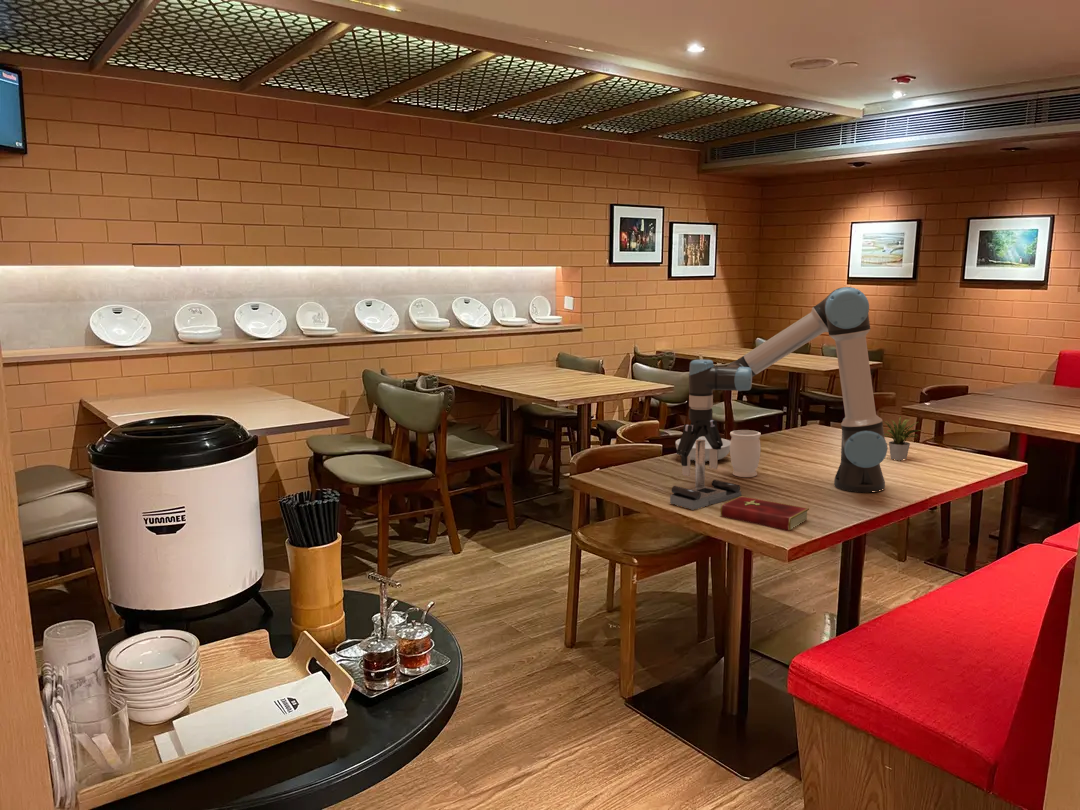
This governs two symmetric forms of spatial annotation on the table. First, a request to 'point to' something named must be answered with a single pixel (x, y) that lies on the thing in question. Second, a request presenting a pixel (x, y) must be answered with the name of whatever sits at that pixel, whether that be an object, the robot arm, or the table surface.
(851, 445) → the robot arm
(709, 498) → the plate with two rollers
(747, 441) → the jar
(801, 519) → the hardcover book
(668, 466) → the table surface
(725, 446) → the serving bowl
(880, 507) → the table surface
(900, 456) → the house plant
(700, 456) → the link pin
